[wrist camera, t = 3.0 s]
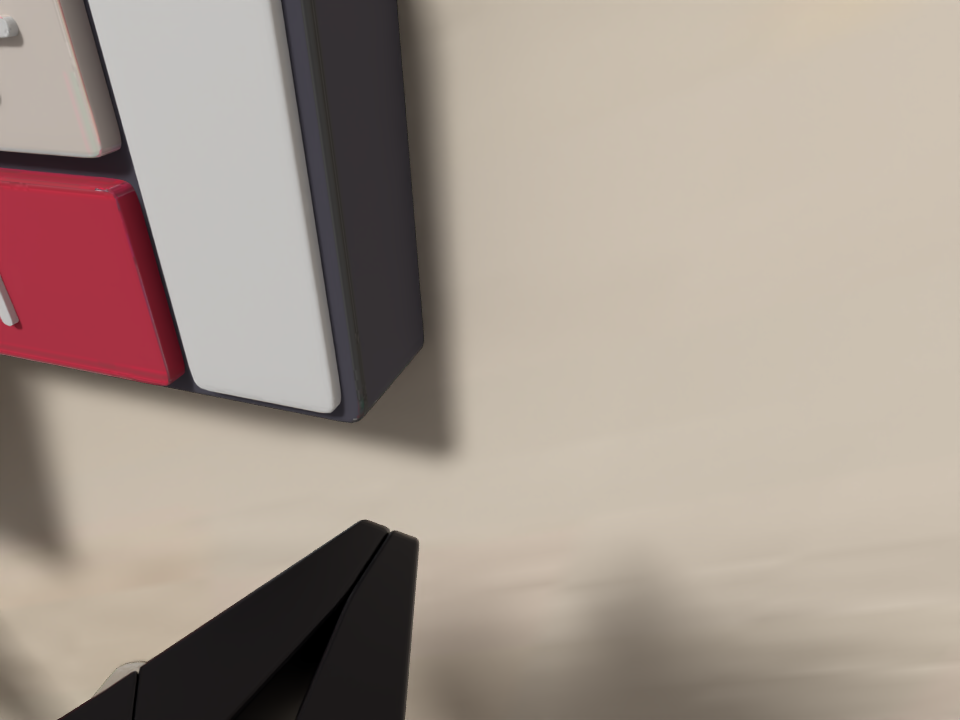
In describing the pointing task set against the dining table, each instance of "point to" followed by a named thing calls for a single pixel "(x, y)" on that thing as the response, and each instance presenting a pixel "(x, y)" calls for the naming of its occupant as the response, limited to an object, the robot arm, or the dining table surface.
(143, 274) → the calculator
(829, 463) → the dining table surface
